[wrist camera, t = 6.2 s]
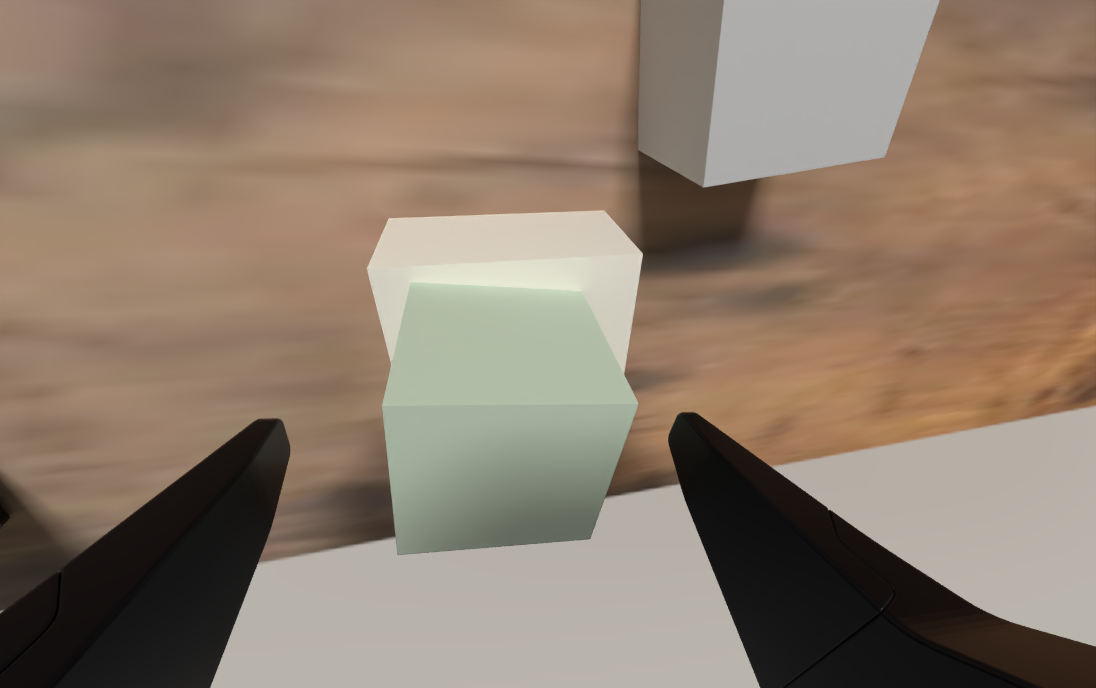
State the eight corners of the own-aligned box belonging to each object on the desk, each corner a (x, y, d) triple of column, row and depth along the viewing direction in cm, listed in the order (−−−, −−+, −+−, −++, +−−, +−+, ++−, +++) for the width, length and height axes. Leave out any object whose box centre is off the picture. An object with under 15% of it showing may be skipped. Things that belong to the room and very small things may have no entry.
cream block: (424, 382, 17) (415, 459, 14) (390, 215, 13) (366, 268, 10) (587, 367, 18) (614, 435, 15) (602, 207, 14) (643, 253, 11)
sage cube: (415, 412, 13) (397, 554, 9) (410, 281, 10) (381, 405, 7) (556, 411, 14) (590, 538, 10) (582, 291, 11) (638, 403, 8)
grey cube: (636, 149, 13) (703, 187, 9) (640, -44, 10) (734, -92, 7) (771, 127, 13) (884, 157, 10) (806, -64, 11) (981, -121, 7)
